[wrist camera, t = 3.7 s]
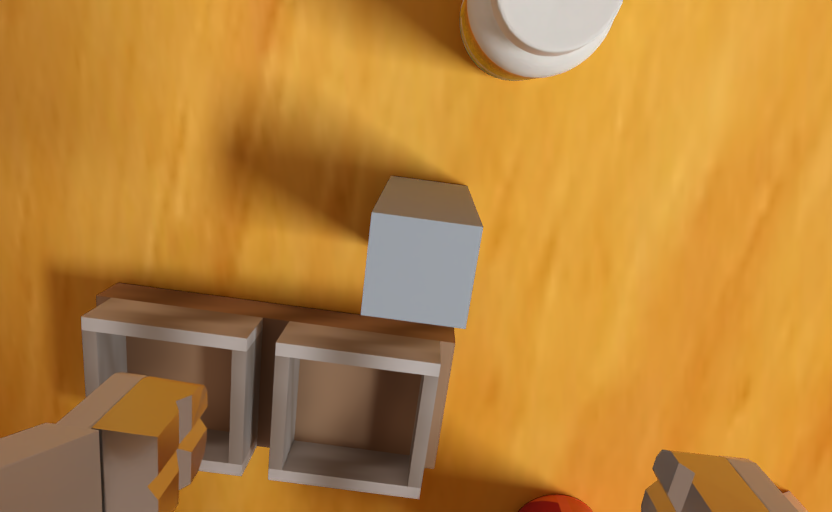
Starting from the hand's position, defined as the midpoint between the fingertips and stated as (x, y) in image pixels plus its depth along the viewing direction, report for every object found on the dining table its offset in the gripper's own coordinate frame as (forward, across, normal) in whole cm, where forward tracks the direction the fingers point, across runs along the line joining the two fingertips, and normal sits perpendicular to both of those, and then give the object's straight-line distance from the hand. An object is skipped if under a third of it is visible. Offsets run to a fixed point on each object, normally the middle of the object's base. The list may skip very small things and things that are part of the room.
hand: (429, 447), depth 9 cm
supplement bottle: (+20, -2, -10) cm, 22 cm away
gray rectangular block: (+19, 0, 0) cm, 19 cm away
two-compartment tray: (+19, +7, +10) cm, 23 cm away
